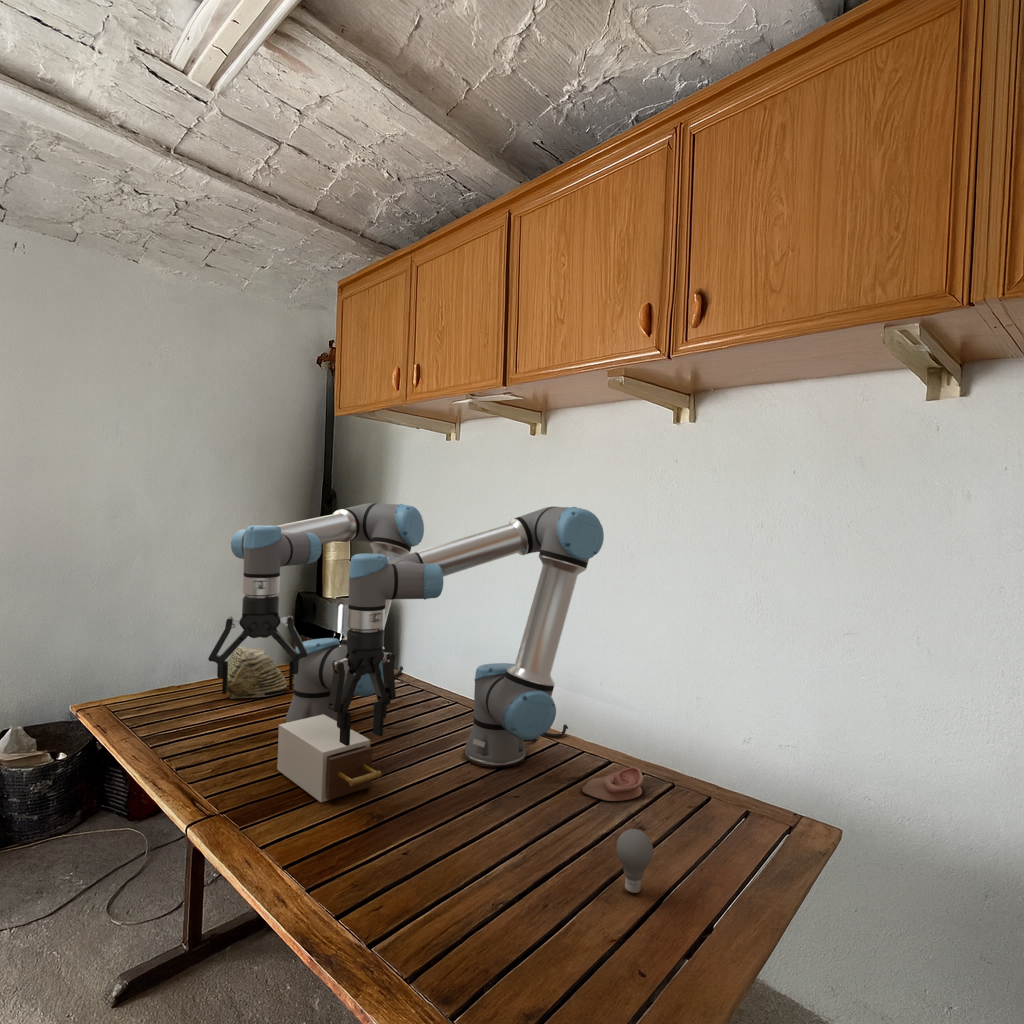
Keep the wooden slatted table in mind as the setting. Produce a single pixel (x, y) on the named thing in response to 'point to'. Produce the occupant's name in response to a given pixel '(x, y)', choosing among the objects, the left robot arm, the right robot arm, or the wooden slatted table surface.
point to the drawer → (349, 772)
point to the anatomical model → (616, 785)
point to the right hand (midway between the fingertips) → (361, 738)
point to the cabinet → (312, 751)
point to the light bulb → (634, 857)
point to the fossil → (253, 674)
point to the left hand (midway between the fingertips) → (258, 690)
